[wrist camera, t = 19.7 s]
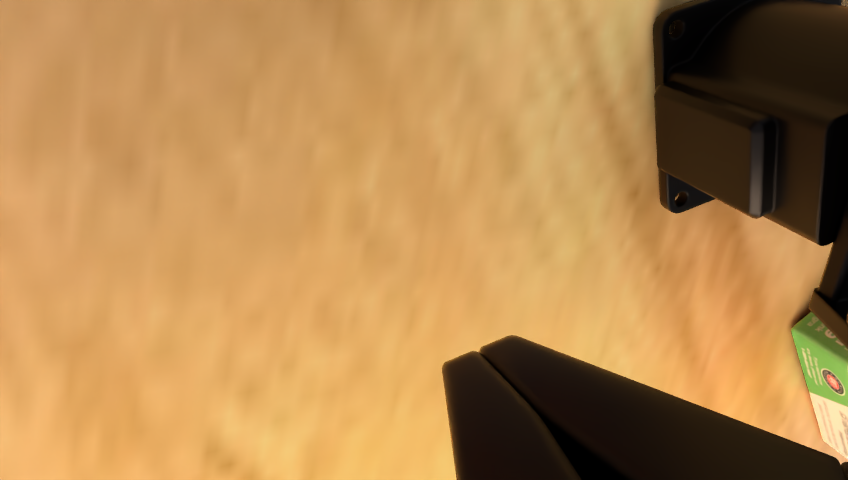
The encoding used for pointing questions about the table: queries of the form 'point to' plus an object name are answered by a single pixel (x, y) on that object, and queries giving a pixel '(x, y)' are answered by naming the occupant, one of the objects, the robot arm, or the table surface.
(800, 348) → the ink box
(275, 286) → the table surface
